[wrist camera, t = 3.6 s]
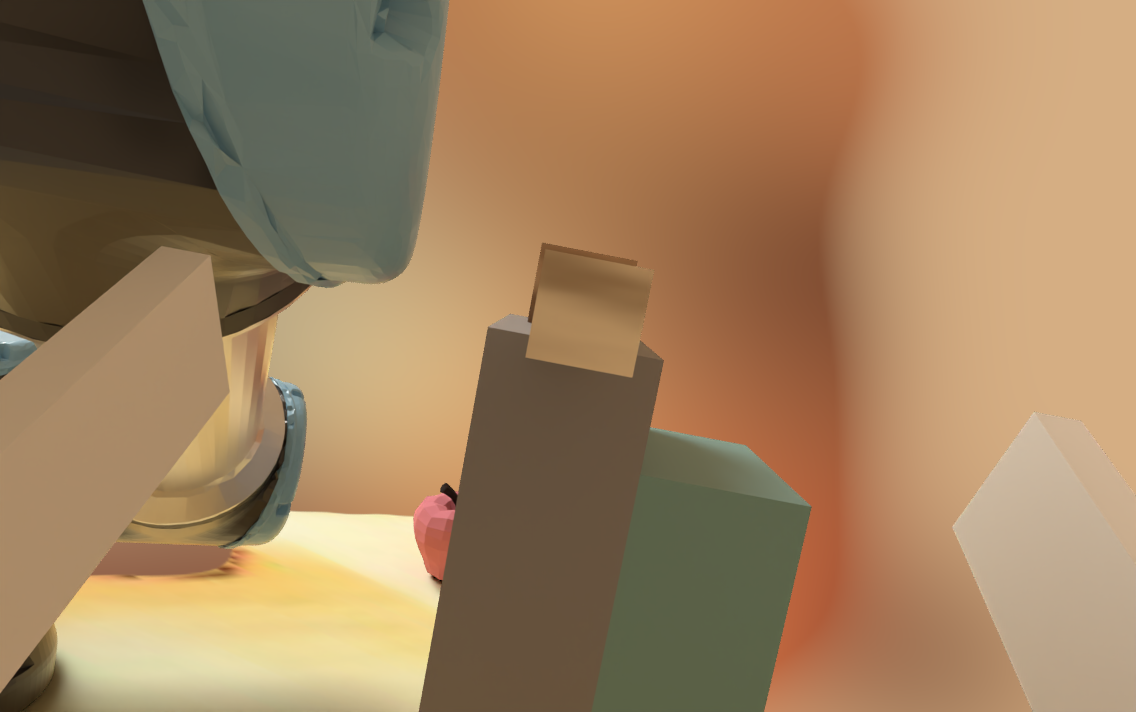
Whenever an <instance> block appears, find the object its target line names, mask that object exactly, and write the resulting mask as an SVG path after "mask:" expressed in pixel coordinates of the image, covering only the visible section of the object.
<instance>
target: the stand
mask: <svg viewBox="0 0 1136 712" xmlns="http://www.w3.org/2000/svg"><path fill="white" fill-rule="evenodd" d="M531 324H532V323H529V322H528V317H524V316H519V315H513V314H509V315H508V316H506V317H504V318H503V319H501V320H499V321H497V322H496V323H494V324H492V325H491V326H489V327H488V330H487V336H486V342H485V347H484V353H483V358H482V364H481V370H480V375H479V381H478V387H477V392H476V397H475V403H474V408H473V414H472V419H471V425H470V431H469V436H468V442H467V447H466V453H465V458H464V464H463V469H462V475H461V480H460V486H459V491H458V497H457V503H456V508H455V514H454V519H453V525H452V530H451V536H450V541H449V547H448V553H447V558H446V564H445V569H444V575H443V580H442V586H441V591H440V597H439V603H438V608H437V614H436V619H435V625H434V630H433V636H432V641H431V647H430V653H429V658H428V664H427V669H426V675H425V680H424V686H423V691H422V697H421V703H420V708H419V712H764V709H765V705H766V701H767V696H768V692H769V688H770V684H771V679H772V675H773V671H774V666H775V662H776V658H777V653H778V649H779V645H780V641H781V636H782V632H783V628H784V623H785V619H786V614H787V610H788V606H789V602H790V597H791V593H792V589H793V585H794V580H795V576H796V572H797V567H798V563H799V559H800V554H801V550H802V546H803V542H804V537H805V533H806V529H807V524H808V520H809V516H810V511H811V506H810V505H809V504H808V503H807V502H806V501H805V500H804V499H803V498H802V497H800V496H799V495H798V494H797V493H796V492H795V491H794V490H793V489H792V488H791V487H790V486H789V485H788V484H787V483H786V482H784V481H783V480H782V479H781V478H780V477H779V476H778V475H777V474H776V473H775V472H774V471H773V470H772V469H771V468H770V467H768V466H767V465H766V464H765V463H764V462H763V461H762V460H761V459H760V458H759V457H758V456H757V455H756V454H754V453H753V452H752V451H751V450H750V449H749V448H748V447H747V446H746V445H741V444H736V443H730V442H725V441H720V440H715V439H709V438H704V437H699V436H693V435H688V434H683V433H678V432H672V431H667V430H662V429H656V428H651V427H650V425H651V420H652V415H653V410H654V405H655V401H656V396H657V391H658V386H659V381H660V376H661V372H662V367H663V362H664V360H663V359H662V358H660V357H659V356H658V355H657V354H656V353H654V352H653V351H652V350H651V349H650V348H649V347H647V346H646V345H645V344H644V343H643V342H641V341H640V343H639V348H638V353H637V358H636V362H635V367H634V372H633V377H632V378H631V377H626V376H621V375H615V374H610V373H605V372H599V371H594V370H589V369H584V368H578V367H573V366H568V365H563V364H557V363H552V362H547V361H542V360H536V359H531V358H526V351H527V346H528V340H529V335H530V330H531Z"/></svg>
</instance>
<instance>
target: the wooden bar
mask: <svg viewBox="0 0 1136 712" xmlns="http://www.w3.org/2000/svg"><path fill="white" fill-rule="evenodd" d="M636 266H637V261H634V260H629V259H624V258H618V257H613V256H608V255H603V254H598V253H592V252H588V251H583V250H577V249H572V248H567V247H562V246H557V245H551V244H546V243H542V247H541V252H540V257H539V263H538V268H537V273H536V279H535V284H534V290H533V295H532V300H531V306H530V311H529V316H528V322H529V323H532V324H531V330H530V335H529V340H528V346H527V351H526V358H531V359H536V360H542V361H547V362H552V363H557V364H563V365H568V366H573V367H578V368H584V369H589V370H594V371H599V372H605V373H610V374H615V375H621V376H626V377H631V378H632V377H633V372H634V367H635V362H636V358H637V353H638V348H639V343H640V337H641V333H642V328H643V323H644V318H645V313H646V308H647V303H648V298H649V293H650V288H651V283H652V278H653V273H654V270H651V269H646V268H641V267H636Z"/></svg>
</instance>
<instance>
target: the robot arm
mask: <svg viewBox="0 0 1136 712" xmlns="http://www.w3.org/2000/svg"><path fill="white" fill-rule="evenodd" d="M448 7H449V0H0V712H20V711H22V710H23V709H24V708H26V707H27V706H28V705H30V704H31V703H32V702H33V701H34V700H35V699H36V698H37V697H38V696H40V694H41V693H42V692H43V691H44V690H45V688H46V687H47V686H48V684H49V682H50V681H51V678H52V676H53V673H54V667H55V658H56V650H57V632H56V628H55V625H54V622H55V621H56V619H57V618H58V617H59V615H60V614H61V613H62V612H63V610H64V609H65V608H66V606H67V605H68V604H69V602H70V601H71V600H72V598H73V597H74V596H75V594H76V593H77V592H78V591H79V589H80V588H81V587H82V585H83V584H84V583H85V581H86V580H87V579H88V577H89V576H90V575H91V573H92V572H93V571H94V570H95V568H96V567H97V566H98V564H99V563H100V562H101V560H102V559H103V558H104V556H105V555H106V554H107V552H108V551H109V550H110V549H111V547H112V546H113V545H114V543H115V542H132V543H158V544H183V545H208V546H218V547H219V548H226V549H232V548H236V547H238V546H249V545H261V544H265V543H268V542H269V541H271V540H273V539H274V538H275V537H276V536H277V535H278V534H279V533H280V531H281V530H282V528H283V527H284V525H285V523H286V521H287V518H288V516H289V513H290V507H291V502H292V501H293V499H294V496H295V493H296V490H297V487H298V482H299V478H300V473H301V468H302V462H303V456H304V448H305V439H306V438H305V437H306V426H307V412H306V404H305V401H304V396H303V393H302V391H301V390H300V389H299V388H298V387H297V386H296V385H294V384H291V383H287V382H282V381H280V380H279V379H274V378H273V377H269V376H268V372H269V366H270V360H271V355H272V349H273V343H274V336H275V331H276V325H277V319H278V314H279V313H280V312H282V311H284V310H285V309H287V308H288V307H289V306H291V305H292V304H293V303H294V302H295V301H296V300H297V299H298V298H300V297H301V296H302V295H303V294H304V293H305V292H306V291H308V289H309V288H310V287H311V286H312V285H314V286H318V287H325V288H332V287H336V286H338V285H340V284H343V283H345V282H356V283H364V284H380V283H385V282H387V281H390V280H392V279H394V278H396V277H397V276H399V275H400V274H401V273H402V272H403V271H404V270H405V269H406V267H407V266H408V264H409V262H410V260H411V257H412V255H413V251H414V248H415V244H416V239H417V235H418V230H419V224H420V219H421V214H422V207H423V201H424V196H425V189H426V182H427V175H428V168H429V161H430V154H431V147H432V139H433V131H434V124H435V117H436V109H437V101H438V94H439V85H440V76H441V68H442V59H443V51H444V42H445V33H446V24H447V15H448ZM953 530H954V532H955V534H956V537H957V539H958V541H959V543H960V546H961V548H962V550H963V553H964V555H965V557H966V560H967V562H968V564H969V567H970V569H971V571H972V573H973V576H974V578H975V580H976V582H977V585H978V587H979V589H980V592H981V594H982V596H983V598H984V601H985V603H986V606H987V608H988V610H989V613H990V615H991V617H992V619H993V622H994V624H995V626H996V629H997V631H998V633H999V636H1000V638H1001V640H1002V643H1003V645H1004V647H1005V649H1006V652H1007V654H1008V656H1009V659H1010V661H1011V663H1012V666H1013V668H1014V670H1015V672H1016V675H1017V677H1018V679H1019V682H1020V684H1021V686H1022V689H1023V691H1024V693H1025V695H1026V698H1027V700H1028V702H1029V705H1030V707H1031V709H1032V711H1033V712H1136V495H1135V494H1134V492H1133V491H1132V490H1131V488H1130V487H1129V485H1128V484H1127V483H1126V481H1125V480H1124V479H1123V477H1122V476H1121V474H1120V473H1119V472H1118V470H1117V469H1116V468H1115V466H1114V465H1113V464H1112V462H1111V461H1110V460H1109V458H1108V457H1107V456H1106V454H1105V453H1104V451H1103V450H1102V449H1101V447H1100V446H1099V445H1098V443H1097V442H1096V440H1095V439H1094V438H1093V436H1092V435H1091V434H1090V432H1089V431H1088V430H1087V428H1086V427H1085V425H1084V424H1083V423H1082V421H1079V420H1074V419H1068V418H1063V417H1058V416H1053V415H1047V414H1043V413H1037V412H1034V413H1033V414H1032V415H1031V417H1030V418H1029V420H1028V421H1027V423H1026V424H1025V426H1024V427H1023V428H1022V430H1021V431H1020V433H1019V434H1018V435H1017V437H1016V438H1015V440H1014V441H1013V442H1012V444H1011V445H1010V446H1009V448H1008V449H1007V451H1006V452H1005V454H1004V455H1003V456H1002V458H1001V459H1000V461H999V462H998V463H997V465H996V466H995V468H994V469H993V471H992V472H991V473H990V475H989V476H988V477H987V479H986V480H985V482H984V483H983V484H982V486H981V487H980V489H979V490H978V492H977V493H976V494H975V496H974V497H973V498H972V500H971V501H970V503H969V504H968V505H967V507H966V508H965V510H964V511H963V513H962V514H961V515H960V517H959V518H958V520H957V521H956V522H955V524H954V525H953Z"/></svg>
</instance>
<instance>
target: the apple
mask: <svg viewBox="0 0 1136 712" xmlns="http://www.w3.org/2000/svg"><path fill="white" fill-rule="evenodd" d="M440 492H442V494H439V495H437V496H427V497H426V498H425V499H424V501H423V502H422V503H421V504H420V505H419V507H418V508H417V509H416V510H415V514H414V518H413V520H414V533H415V539H416V542H417V545H418V548H419V550H420V553H421V555H422V557H423V560H424V564H425V567H426V570H427V572H428V573H430V574H432V575H433V576H435V577H436V578H437V579H439V580H443V575H444V569H445V564H446V558H447V553H448V547H449V541H450V536H451V530H452V525H453V519H454V514H455V508H456V503H457V497H458V492H455V491H454V490H453V489H452V488H451V487H450V486H449V485H448V484H447V483H445V484H444V485H442V487H441V490H440Z"/></svg>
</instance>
